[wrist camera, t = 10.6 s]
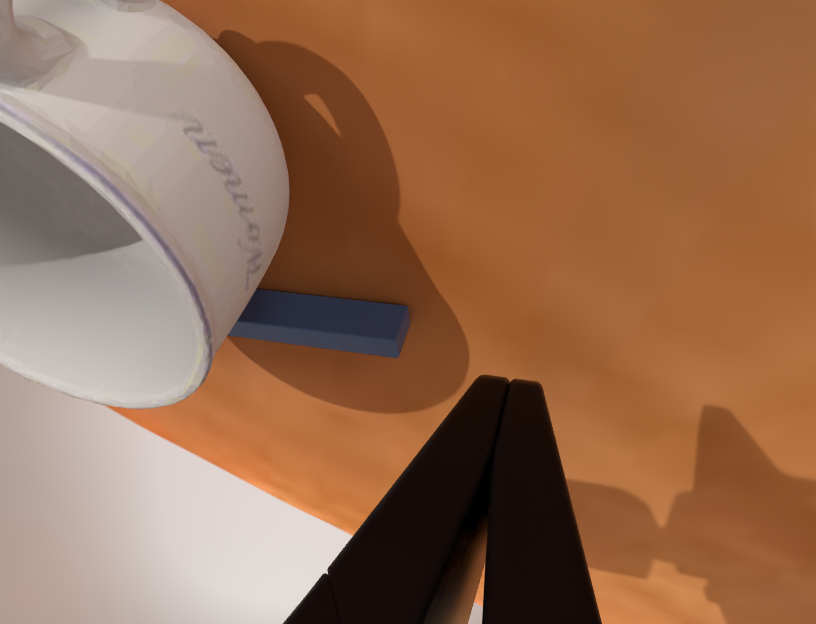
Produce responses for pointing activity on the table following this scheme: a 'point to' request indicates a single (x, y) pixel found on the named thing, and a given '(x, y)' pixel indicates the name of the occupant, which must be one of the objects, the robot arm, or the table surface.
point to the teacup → (128, 198)
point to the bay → (324, 322)
